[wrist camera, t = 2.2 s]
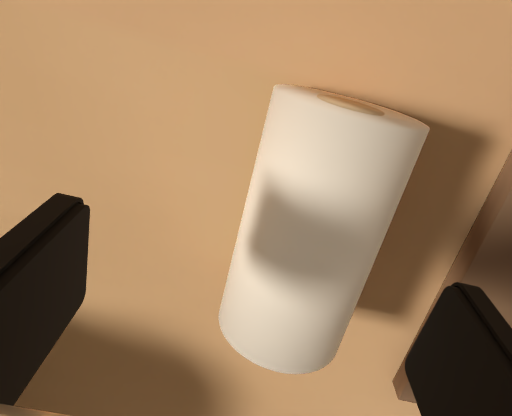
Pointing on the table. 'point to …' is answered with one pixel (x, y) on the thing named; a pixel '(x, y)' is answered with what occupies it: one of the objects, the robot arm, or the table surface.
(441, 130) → the table surface
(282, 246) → the paper towel roll
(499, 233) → the roll holder
